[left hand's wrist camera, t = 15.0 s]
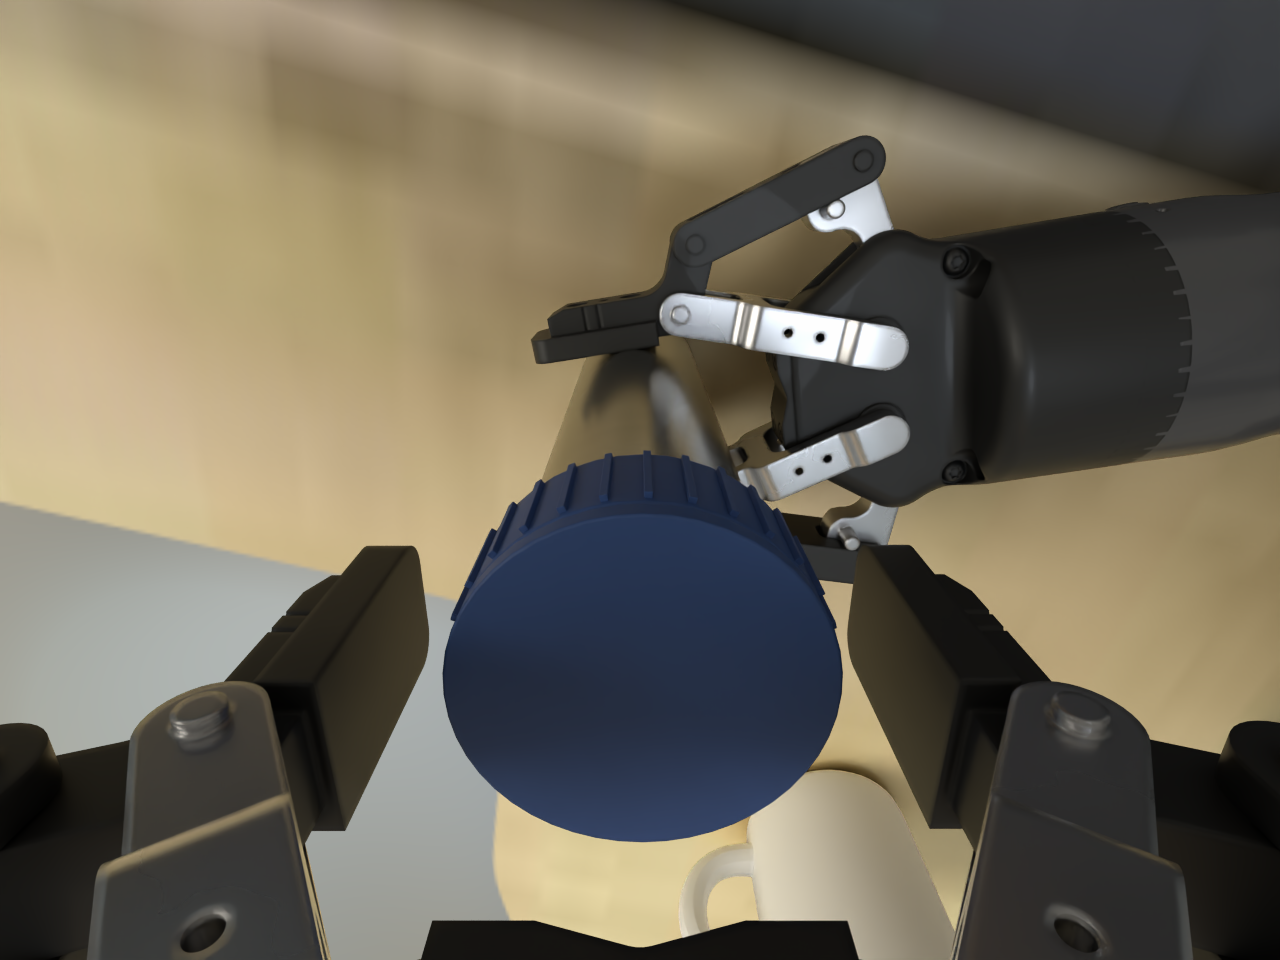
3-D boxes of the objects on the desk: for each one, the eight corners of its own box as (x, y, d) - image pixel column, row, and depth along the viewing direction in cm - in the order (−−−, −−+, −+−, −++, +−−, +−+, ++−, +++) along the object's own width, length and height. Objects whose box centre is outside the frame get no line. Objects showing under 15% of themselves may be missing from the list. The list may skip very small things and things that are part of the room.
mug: (669, 875, 38) (680, 1103, 28) (677, 758, 34) (692, 968, 25) (886, 880, 38) (970, 1108, 28) (912, 764, 35) (1016, 975, 25)
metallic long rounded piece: (592, 423, 28) (513, 792, 10) (579, 318, 27) (458, 535, 9) (696, 414, 28) (800, 771, 10) (689, 308, 27) (797, 506, 9)
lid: (772, 752, 12) (800, 863, 10) (467, 721, 12) (431, 828, 10) (845, 471, 10) (899, 537, 8) (482, 426, 10) (440, 482, 8)
